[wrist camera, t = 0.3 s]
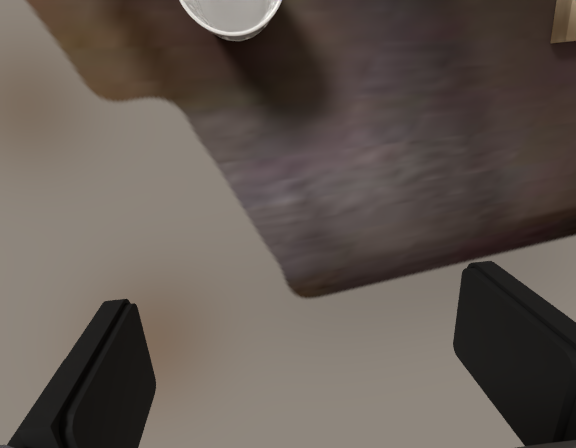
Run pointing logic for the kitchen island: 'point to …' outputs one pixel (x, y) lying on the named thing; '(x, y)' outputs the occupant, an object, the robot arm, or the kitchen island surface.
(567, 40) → the door and jamb
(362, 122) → the kitchen island surface
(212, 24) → the white cup
